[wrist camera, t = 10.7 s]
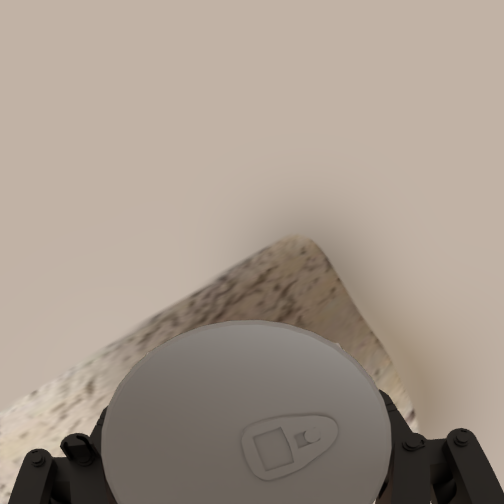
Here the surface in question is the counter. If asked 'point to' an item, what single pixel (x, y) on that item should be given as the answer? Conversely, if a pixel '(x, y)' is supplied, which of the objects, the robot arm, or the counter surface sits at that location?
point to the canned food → (246, 421)
